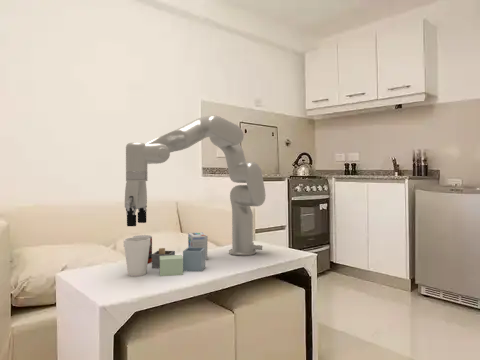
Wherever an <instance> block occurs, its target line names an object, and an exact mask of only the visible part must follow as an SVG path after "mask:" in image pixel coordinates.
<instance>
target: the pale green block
mask: <svg viewBox="0 0 480 360" xmlns="http://www.w3.org/2000/svg"><path fill="white" fill-rule="evenodd" d="M183 275H184V271H183V254H175V255H168V256H160V268H159V277H168V276H183Z"/></svg>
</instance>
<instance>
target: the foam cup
mask: <svg viewBox="0 0 480 360" xmlns="http://www.w3.org/2000/svg"><path fill="white" fill-rule="evenodd" d="M123 248H124V249H123V250H124V254H125V256H124V257H125V262H126V270H127V274H128V276H129V277H139V276H144V275H146V274H147V271H148V270H147V269H148V264H149V263H148V256H149V248H150V238H148V237H133V236H132V237H127V238H123Z"/></svg>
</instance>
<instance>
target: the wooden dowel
mask: <svg viewBox="0 0 480 360" xmlns="http://www.w3.org/2000/svg"><path fill="white" fill-rule="evenodd" d="M158 251H159V254H165V251H166V248H165V247H160V248H158Z"/></svg>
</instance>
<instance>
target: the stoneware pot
mask: <svg viewBox="0 0 480 360" xmlns="http://www.w3.org/2000/svg"><path fill="white" fill-rule="evenodd" d="M182 258H183V272H203V270H204V269H205V268H206V260H205V248H190V247H188V246H187V247H186V248H184V250H182Z"/></svg>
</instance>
